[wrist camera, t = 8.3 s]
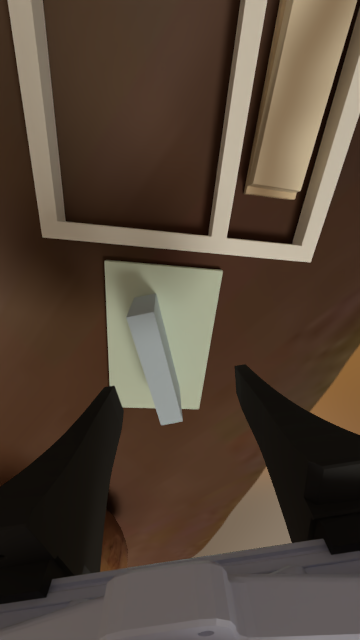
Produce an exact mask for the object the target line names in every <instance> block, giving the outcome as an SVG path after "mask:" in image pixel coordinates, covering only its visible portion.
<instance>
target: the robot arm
mask: <svg viewBox="0 0 360 640" xmlns="http://www.w3.org/2000/svg"><path fill="white" fill-rule="evenodd" d="M235 377H236V393H237V396H238V399H239V402H240V405H241V408H242V410H243V413H244V415H245V417H246V419H247V421H248V423H249V426H250V428H251V430H252V432H253V434H254V436H255V439H256V441H257V443H258V445H259V447H260V450H261V452H262V455H263V458H264V460H265V463H266V466H267V469H268V472H269V475H270V477H271V480H272V483H273V486H274V488H275V492H276V495H277V498H278V501H279V504H280V507H281V510H282V513H283V516H284V519H285V522H286V525H287V529H288V532H289V535H290V538H291V541H292V543H289V544H283V545H277V546H270V547H263V548H257V549H250V550H243V551H236V552H230V553H223V554H217V555H210V556H203V557H197V558H190V559H183V560H176V561H170V562H163V563H156V564H150V565H143V566H137V567H130V568H123V569H117V570H110V571H103V572H100V568H101V555H102V543H103V533H104V523H105V514H106V506H107V498H108V491H109V484H110V477H111V472H112V467H113V463H114V459H115V455H116V450H117V446H118V442H119V438H120V434H121V429H122V422H123V412H124V410H123V408H122V405H121V402H120V399H119V396H118V394H117V391H116V388H115V386H109V387H104V388H103V390H102V391H101V392H100V393H99V394H98V396H97V397H96V398H95V399H94V401H93V402H92V403H91V404H90V406H89V407H88V408H87V409H86V410H85V412H84V413H83V414H82V415H81V416H80V417H79V418H78V420H77V421H76V422H75V423H74V424H73V425H72V426H71V427H70V428H69V429H68V431H67V432H66V433H65V434H64V435H63V436H62V437H61V438H60V439H59V440H57V441H56V442H55V443H54V444H53V445H52V446H51V447H50V448H49V449H48V450H47V451H45V452H44V453H43V454H42V455H41V456H40V457H38V458H37V459H36V460H35V461H34V462H33V463H31V464H30V465H29V466H28V467H26V468H25V469H24V470H23V471H21V472H20V473H19V474H17V475H16V476H15V477H13V478H12V479H11V480H9V481H8V482H6V483H5V484H4V485H2V486H1V487H0V640H360V435H358V434H355V433H353V432H350V431H348V430H345V429H343V428H340V427H339V426H336V425H334V424H332V423H330V422H328V421H325V420H323V419H321V418H320V417H318V416H316V415H314V414H312V413H310V412H308V411H306V410H305V409H303V408H301V407H300V406H298V405H296V404H295V403H293V402H291V401H290V400H288V399H287V398H286V397H284V396H283V395H281V394H280V393H279V392H277V391H276V390H275V389H273V388H272V387H271V386H270V385H268V384H267V383H266V382H265V381H263V380H262V379H261V378H260V377H259V376H258V375H257V374H255V373H254V372H253V371H252V370H251V369H250V368H249V367H248V366H247V365H238V366H235Z"/></svg>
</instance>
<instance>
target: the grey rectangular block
mask: <svg viewBox="0 0 360 640" xmlns="http://www.w3.org/2000/svg"><path fill="white" fill-rule="evenodd" d="M126 319H127V322H128V325H129V328H130V331H131V334H132V337H133V340H134V343H135V346H136V349H137V352H138V355H139V359H140V362H141V365H142V368H143V371H144V374H145V377H146V380H147V383H148V386H149V389H150V392H151V395H152V399H153V402H154V405H155V408H156V411H157V414H158V417H159V420H160V423H161V425H166V424H171V423H176V422H182V421H183V419H182V407H181V396H180V387H179V383H178V379H177V375H176V371H175V367H174V363H173V359H172V355H171V351H170V347H169V343H168V339H167V335H166V331H165V327H164V323H163V319H162V315H161V311H160V307H159V303H158V299H157V295H156V293H155V294H150V295H145V296H140V297H135V298H134V299H133V302H132V304H131V307H130V309H129V312H128V314H127V317H126Z"/></svg>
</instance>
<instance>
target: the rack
mask: <svg viewBox="0 0 360 640" xmlns="http://www.w3.org/2000/svg"><path fill="white" fill-rule="evenodd" d="M266 5H267V0H241V1H240V8H239V15H238V22H237V30H236V37H235V44H234V51H233V59H232V66H231V73H230V80H229V88H228V95H227V102H226V109H225V117H224V124H223V131H222V138H221V146H220V153H219V160H218V167H217V175H216V182H215V189H214V196H213V204H212V211H211V218H210V225H209V233H208V236H206V235H196V234H186V233H176V232H166V231H156V230H146V229H136V228H126V227H116V226H106V225H96V224H87V223H77V222H67V221H66V219H65V210H64V200H63V190H62V181H61V171H60V162H59V152H58V142H57V133H56V123H55V113H54V104H53V94H52V85H51V75H50V65H49V56H48V46H47V36H46V27H45V17H44V8H43V0H8V7H9V14H10V21H11V28H12V34H13V41H14V48H15V55H16V62H17V68H18V75H19V82H20V89H21V96H22V103H23V109H24V116H25V123H26V130H27V137H28V143H29V150H30V157H31V164H32V171H33V177H34V184H35V191H36V198H37V205H38V211H39V218H40V225H41V232H42V237H43V238H54V239H65V240H76V241H86V242H97V243H108V244H119V245H129V246H140V247H151V248H162V249H172V250H183V251H194V252H205V253H215V254H226V255H237V256H248V257H258V258H269V259H280V260H291V261H301V262H311V260H312V257H313V254H314V251H315V248H316V245H317V242H318V239H319V236H320V232H321V229H322V226H323V223H324V220H325V217H326V214H327V211H328V208H329V205H330V202H331V199H332V196H333V193H334V190H335V187H336V184H337V181H338V178H339V175H340V172H341V169H342V166H343V163H344V160H345V157H346V153H347V150H348V147H349V144H350V141H351V138H352V135H353V132H354V129H355V126H356V123H357V120H358V117H359V114H360V8H359V11H358V15H357V18H356V22H355V25H354V29H353V32H352V36H351V39H350V43H349V46H348V50H347V53H346V57H345V60H344V64H343V67H342V71H341V74H340V78H339V81H338V85H337V88H336V92H335V95H334V99H333V102H332V106H331V109H330V113H329V116H328V120H327V123H326V127H325V130H324V134H323V137H322V141H321V144H320V148H319V151H318V155H317V158H316V162H315V165H314V169H313V172H312V176H311V179H310V183H309V186H308V190H307V193H306V197H305V200H304V204H303V207H302V211H301V214H300V218H299V221H298V225H297V228H296V232H295V235H294V239H293V242H292V244H286V243H276V242H266V241H256V240H246V239H236V238H227V233H228V227H229V222H230V216H231V210H232V204H233V198H234V192H235V186H236V181H237V175H238V169H239V163H240V157H241V151H242V145H243V139H244V134H245V128H246V122H247V116H248V110H249V104H250V98H251V93H252V87H253V81H254V75H255V69H256V63H257V57H258V52H259V46H260V40H261V34H262V28H263V22H264V16H265V10H266Z"/></svg>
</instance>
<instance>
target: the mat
mask: <svg viewBox="0 0 360 640" xmlns="http://www.w3.org/2000/svg"><path fill="white" fill-rule="evenodd" d="M104 263H105V287H106V311H107V335H108V359H109V382H110V386H115V388H116V391H117V394H118V396H119V399H120V402H121V405H122V407H130V408H155V405H154V402H153V399H152V395H151V392H150V389H149V386H148V383H147V380H146V377H145V374H144V371H143V368H142V365H141V362H140V359H139V355H138V352H137V349H136V346H135V343H134V340H133V337H132V334H131V331H130V328H129V325H128V322H127V319H126V317H127V314H128V312H129V309H130V307H131V304H132V302H133V299H134V298H135V297H140V296H145V295H150V294H155V293H156V295H157V299H158V303H159V307H160V311H161V315H162V319H163V323H164V327H165V331H166V335H167V339H168V343H169V347H170V351H171V355H172V359H173V363H174V367H175V371H176V375H177V379H178V383H179V387H180V396H181V407H182V409H199V405H200V400H201V394H202V388H203V382H204V377H205V371H206V365H207V359H208V354H209V348H210V342H211V336H212V331H213V325H214V319H215V313H216V308H217V302H218V296H219V290H220V285H221V279H222V273H223V271H222V270H218V269H207V268H195V267H184V266H172V265H160V264H149V263H137V262H126V261H114V260H105V261H104Z"/></svg>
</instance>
